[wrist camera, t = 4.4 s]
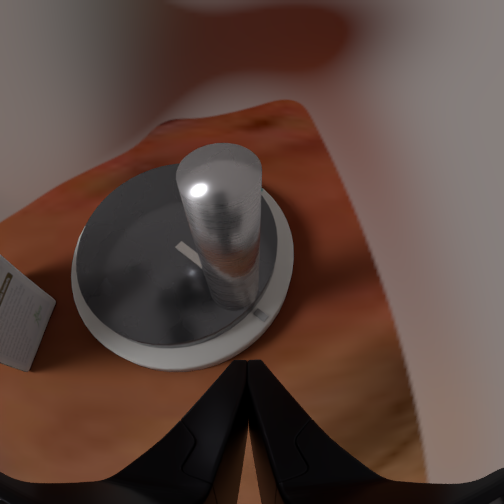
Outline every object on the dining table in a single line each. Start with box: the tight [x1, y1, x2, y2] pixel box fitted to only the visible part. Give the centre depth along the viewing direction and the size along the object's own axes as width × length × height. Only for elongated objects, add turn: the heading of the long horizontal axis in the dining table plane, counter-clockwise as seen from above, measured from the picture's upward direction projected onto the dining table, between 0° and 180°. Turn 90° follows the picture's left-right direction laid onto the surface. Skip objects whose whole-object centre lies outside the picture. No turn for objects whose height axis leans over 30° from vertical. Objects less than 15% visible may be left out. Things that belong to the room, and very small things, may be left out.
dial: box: [76, 143, 278, 348], centre depth 14 cm, size 12×12×9 cm
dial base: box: [71, 187, 294, 372], centre depth 18 cm, size 14×14×2 cm
